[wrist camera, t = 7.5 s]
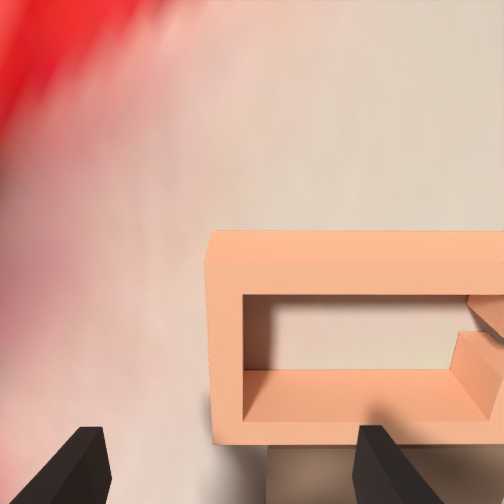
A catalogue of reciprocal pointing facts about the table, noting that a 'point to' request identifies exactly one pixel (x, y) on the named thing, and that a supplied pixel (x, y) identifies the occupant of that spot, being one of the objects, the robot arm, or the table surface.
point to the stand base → (420, 455)
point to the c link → (355, 381)
